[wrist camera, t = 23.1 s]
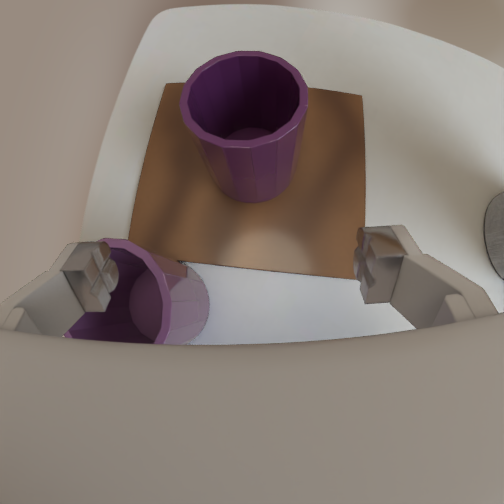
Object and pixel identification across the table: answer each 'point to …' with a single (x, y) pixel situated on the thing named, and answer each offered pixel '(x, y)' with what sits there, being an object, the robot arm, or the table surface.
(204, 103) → the plum cup
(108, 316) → the mauve cup
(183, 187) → the placemat
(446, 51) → the table surface
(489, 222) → the vase
